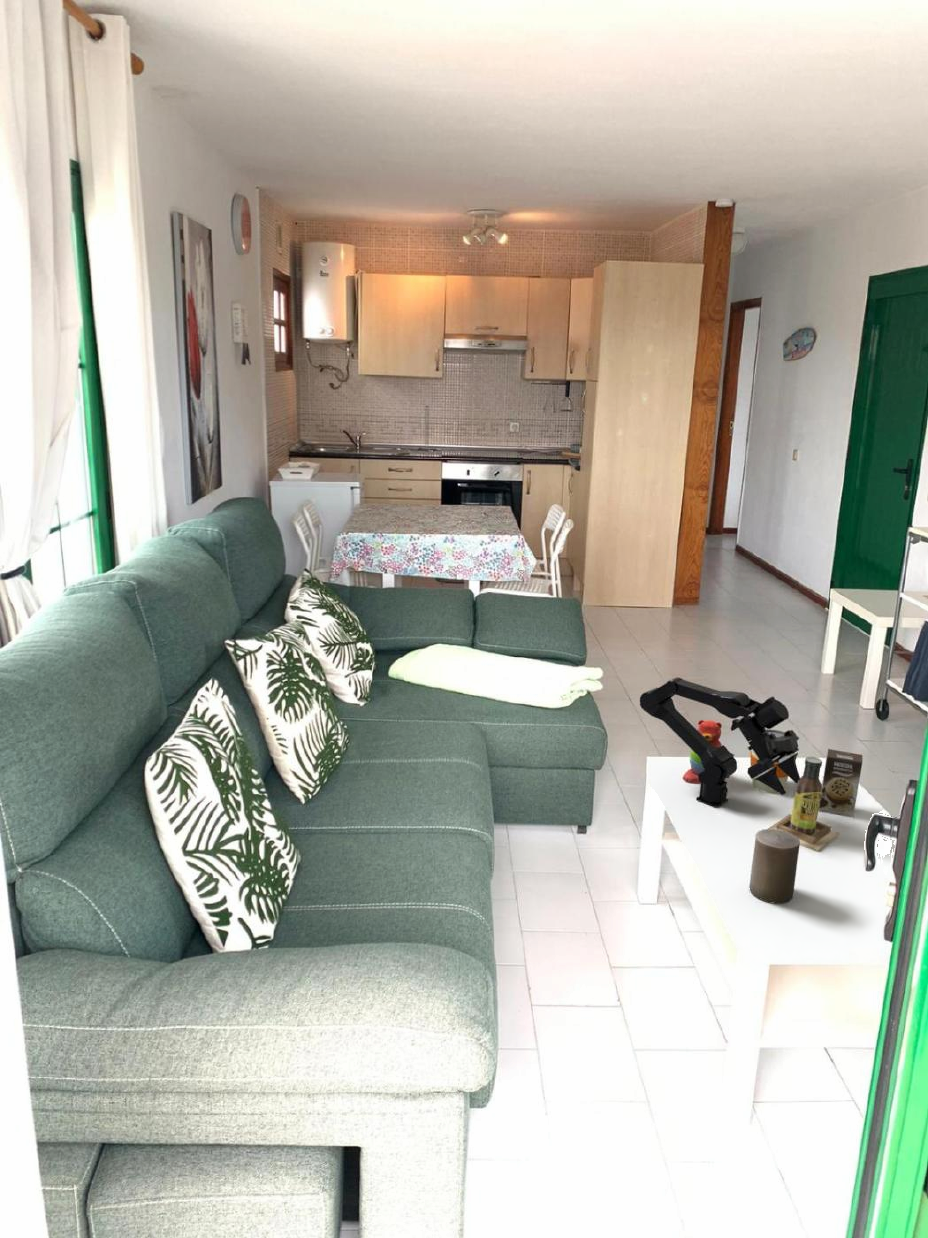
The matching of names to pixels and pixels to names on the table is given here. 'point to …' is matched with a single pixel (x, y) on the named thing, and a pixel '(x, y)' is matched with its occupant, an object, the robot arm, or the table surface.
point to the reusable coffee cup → (779, 772)
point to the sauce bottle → (807, 798)
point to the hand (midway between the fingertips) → (792, 789)
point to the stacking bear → (712, 734)
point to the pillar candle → (774, 865)
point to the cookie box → (840, 782)
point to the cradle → (812, 841)
